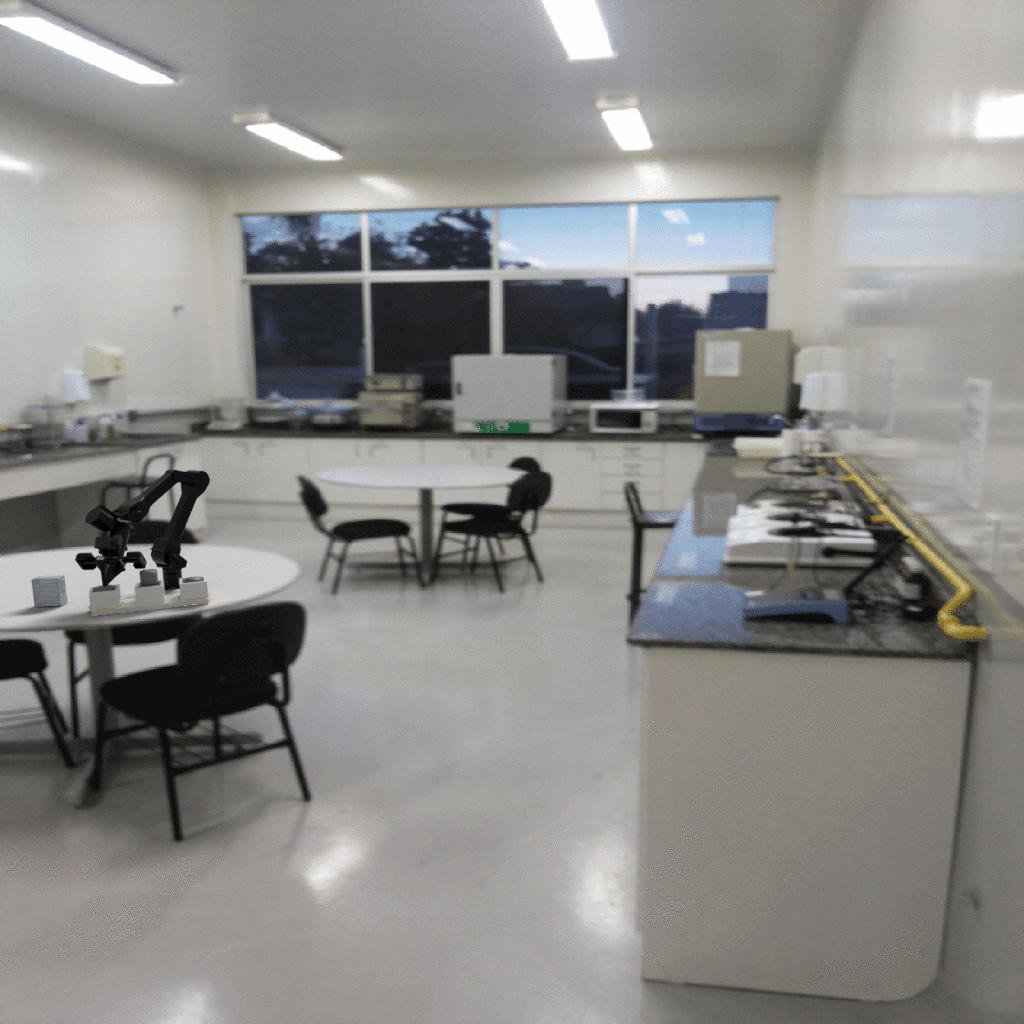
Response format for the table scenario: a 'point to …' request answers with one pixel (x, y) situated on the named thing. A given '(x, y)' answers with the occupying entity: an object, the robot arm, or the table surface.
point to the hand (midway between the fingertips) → (104, 585)
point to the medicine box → (49, 590)
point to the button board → (148, 598)
